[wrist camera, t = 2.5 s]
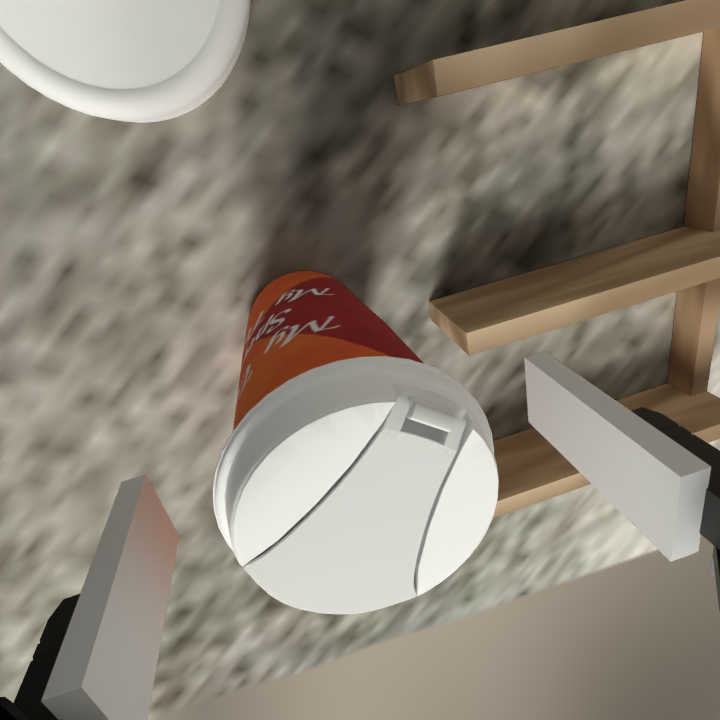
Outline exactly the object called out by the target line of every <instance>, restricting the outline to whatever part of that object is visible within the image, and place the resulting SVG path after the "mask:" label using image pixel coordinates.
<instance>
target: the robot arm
mask: <svg viewBox="0 0 720 720" xmlns="http://www.w3.org/2000/svg"><path fill="white" fill-rule="evenodd" d="M524 361H525V376H526V391H527V406H528V422H529V423H530V424H531V425H532V426H533V427H534V428H535V429H536V430H537V431H538V432H539V433H540V434H541V435H542V436H543V437H544V438H545V439H546V440H547V441H549V442H550V443H551V444H552V445H553V446H554V447H555V448H556V449H557V450H558V451H559V452H560V453H561V454H562V455H563V456H564V457H565V458H566V459H567V460H568V461H569V462H570V463H571V464H572V465H573V466H574V467H575V468H576V469H577V470H578V471H579V472H580V473H581V474H582V475H583V476H584V477H585V478H586V479H587V480H588V481H589V482H590V483H591V484H592V485H593V486H594V487H595V488H596V489H597V490H598V491H599V492H600V493H601V494H602V495H603V496H604V497H605V498H607V499H608V500H609V501H610V502H611V503H612V504H613V505H614V506H615V507H616V508H617V509H618V510H619V511H620V512H621V513H622V514H623V515H624V516H625V517H626V518H627V519H628V520H629V521H630V522H631V523H632V524H633V525H634V526H635V527H636V528H637V529H638V530H639V531H640V532H641V533H642V534H643V535H644V536H645V537H646V538H647V539H648V540H649V541H650V542H651V543H652V544H653V545H654V546H655V547H656V548H657V549H658V550H659V551H660V552H661V553H662V554H663V555H665V556H666V557H667V558H668V559H669V560H670V561H674V560H677V559H679V558H682V557H685V556H688V555H690V554H693V553H696V552H698V549H699V543H700V536H701V535H703V536H704V537H705V538H706V539H707V540H708V541H710V542H711V543H712V544H713V545H714V550H713V556H712V562H711V567H710V573H709V576H711V577H716V585H717V593H718V601H719V609H720V451H719V450H718V449H716V448H714V447H713V446H711V445H710V444H708V443H707V442H705V441H704V440H702V439H701V438H699V437H697V436H696V435H694V434H693V435H692V434H691V432H690V431H688V430H687V429H685V428H684V427H682V426H678V424H677V423H676V422H674V421H673V420H671V419H670V418H668V417H667V416H665V415H663V414H662V413H659V412H656V411H653V410H650V409H647V408H644V407H641V408H638V409H635V410H632V411H630V410H629V409H627V408H626V407H624V406H623V405H622V404H620V403H619V402H617V401H616V400H614V399H613V398H611V397H610V396H609V395H607V394H606V393H604V392H603V391H601V390H600V389H598V388H597V387H596V386H594V385H593V384H591V383H590V382H588V381H587V380H585V379H584V378H583V377H581V376H580V375H578V374H577V373H575V372H574V371H573V370H571V369H570V368H568V367H567V366H565V365H564V364H562V363H561V362H560V361H558V360H557V359H555V358H554V357H552V356H551V355H549V354H548V353H547V352H545V351H543V352H540V353H537V354H533V355H530V356H527V357H524ZM178 538H179V535H178V533H177V531H176V529H175V527H174V525H173V524H172V522H171V520H170V518H169V516H168V514H167V513H166V511H165V509H164V507H163V505H162V503H161V502H160V500H159V498H158V496H157V494H156V493H155V491H154V489H153V487H152V485H151V483H150V482H149V480H148V478H147V476H146V475H143V476H140V477H136V478H133V479H130V480H127V481H123V482H121V485H120V488H119V490H118V493H117V496H116V499H115V501H114V504H113V507H112V510H111V512H110V515H109V518H108V520H107V523H106V526H105V529H104V531H103V534H102V537H101V539H100V542H99V545H98V548H97V550H96V553H95V556H94V558H93V561H92V564H91V567H90V569H89V572H88V575H87V578H86V580H85V583H84V586H83V588H82V591H81V594H78V595H75V596H72V597H69V598H66V599H64V600H63V601H62V602H61V603H60V605H59V606H58V607H57V609H56V610H55V611H54V613H53V614H52V615H51V617H50V618H49V619H48V621H47V624H46V626H45V629H44V631H43V634H42V636H41V638H40V644H38V646H37V648H36V650H35V653H34V655H33V661H31V662H30V665H29V667H28V670H27V672H26V674H25V677H24V679H23V682H22V684H21V686H20V689H19V691H18V694H17V696H16V698H15V701H14V703H12V702H11V701H10V700H8V699H7V698H6V697H0V720H148V714H149V708H150V702H151V696H152V690H153V684H154V679H155V673H156V667H157V661H158V655H159V649H160V643H161V638H162V632H163V626H164V620H165V614H166V608H167V603H168V597H169V591H170V585H171V579H172V573H173V567H174V562H175V556H176V550H177V544H178Z"/></svg>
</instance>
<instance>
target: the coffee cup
mask: <svg viewBox="0 0 720 720" xmlns="http://www.w3.org/2000/svg"><path fill="white" fill-rule="evenodd" d="M498 484H499V478H498V471H497V463H496V460H495V457H494V446H493V438H492V432H491V429H490V426H489V423H488V420H487V417H486V415H485V414H484V412H483V410H482V408H481V407H480V405H479V403H478V401H477V400H476V399H475V398H474V397H473V396H472V395H471V394H470V392H469V391H468V390H467V389H466V388H465V387H464V386H463V385H462V384H460V383H459V382H458V381H456V380H455V379H454V378H452V377H451V376H450V375H448V374H446V373H444V372H442V371H440V370H438V369H436V368H434V367H432V366H430V365H427V364H424V363H423V362H422V361H421V360H420V359H419V358H418V357H417V356H416V355H415V354H414V353H413V352H412V351H411V350H410V348H409V347H408V346H407V345H406V344H405V343H404V342H403V341H402V340H401V339H400V338H399V337H398V336H397V335H396V334H395V333H394V332H393V330H392V329H391V328H390V327H389V326H388V325H387V324H386V323H385V322H384V321H383V320H382V319H380V318H379V317H378V316H377V315H376V314H375V313H374V312H373V311H371V310H370V309H369V308H368V307H367V306H366V305H365V304H364V303H363V302H361V301H360V300H359V299H358V298H357V297H356V296H355V295H354V294H353V293H352V292H351V291H350V290H349V289H347V288H346V287H345V286H344V285H343V284H341V283H340V282H339V281H337V280H336V279H334V278H332V277H330V276H328V275H325V274H322V273H319V272H314V271H297V272H292V273H288V274H285V275H283V276H280V277H278V278H277V279H275V280H273V281H272V282H271V283H269V284H268V285H267V286H266V287H265V288H264V289H263V290H262V291H261V292H260V294H259V295H258V297H257V298H256V300H255V302H254V304H253V306H252V309H251V312H250V315H249V320H248V325H247V330H246V337H245V344H244V351H243V358H242V365H241V373H240V381H239V389H238V396H237V404H236V412H235V420H234V428H233V432H232V434H231V436H230V438H229V439H228V441H227V443H226V445H225V446H224V448H223V450H222V453H221V456H220V459H219V462H218V465H217V468H216V472H215V479H214V486H213V502H214V512H215V515H216V519H217V523H218V526H219V529H220V531H221V533H222V535H223V536H224V538H225V540H226V542H227V544H228V545H229V546H230V548H231V549H232V550H233V551H234V554H235V556H236V558H237V560H238V562H239V564H240V565H242V566H244V569H245V570H246V572H247V573H248V574H249V575H250V576H251V577H252V578H253V579H254V580H255V581H256V583H257V584H258V585H260V586H261V587H262V588H263V589H264V590H265V591H266V592H267V593H268V594H269V595H270V596H272V597H274V598H275V599H277V600H279V601H281V602H282V603H284V604H286V605H289V606H292V607H295V608H298V609H301V610H306V611H312V612H317V613H327V614H357V613H363V612H369V611H374V610H377V609H381V608H384V607H388V606H391V605H394V604H397V603H400V602H403V601H406V600H408V599H411V598H414V597H416V595H417V596H419V595H421V594H423V593H425V592H426V591H428V590H430V589H431V588H433V587H434V586H436V585H437V584H439V583H441V582H442V581H443V580H444V579H446V578H447V577H448V576H449V575H451V574H452V573H453V572H454V571H456V570H457V569H458V568H459V567H460V566H461V565H462V564H463V563H464V562H465V561H466V560H467V559H468V557H469V556H470V555H471V554H472V552H473V551H474V550H475V549H476V547H477V546H478V545H479V543H480V541H481V540H482V538H483V536H484V535H485V533H486V531H487V530H488V527H489V525H490V522H491V520H492V518H493V515H494V512H495V508H496V503H497V499H498Z"/></svg>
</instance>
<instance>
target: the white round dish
mask: <svg viewBox="0 0 720 720" xmlns="http://www.w3.org/2000/svg"><path fill="white" fill-rule="evenodd" d="M250 2H251V0H0V63H1V64H3V65H4V66H5V67H6V68H7V69H8V70H9V71H10V72H12V73H13V74H14V75H15V76H17V77H18V78H19V79H21V80H22V81H23V82H25V83H26V84H27V85H29V86H30V87H32V88H33V89H35V90H37V91H38V92H40V93H42V94H43V95H45V96H46V97H48V98H50V99H52V100H54V101H56V102H58V103H60V104H62V105H64V106H67V107H69V108H71V109H74V110H77V111H80V112H83V113H86V114H88V115H92V116H97V117H102V118H107V119H113V120H120V121H127V122H140V123H142V122H158V121H163V120H167V119H172V118H175V117H178V116H180V115H183V114H185V113H188V112H189V111H191V110H193V109H195V108H196V107H198V106H200V105H201V104H203V103H204V102H205V101H206V100H208V99H209V98H210V97H211V96H212V95H213V94H214V93H215V92H216V91H217V90H218V89H219V88H220V87H221V86H222V85H223V83H224V82H225V80H226V79H227V77H228V76H229V74H230V73H231V71H232V69H233V67H234V65H235V63H236V61H237V59H238V57H239V55H240V52H241V49H242V46H243V44H244V40H245V36H246V32H247V28H248V22H249V13H250Z"/></svg>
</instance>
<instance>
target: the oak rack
mask: <svg viewBox="0 0 720 720" xmlns="http://www.w3.org/2000/svg"><path fill="white" fill-rule="evenodd" d="M700 32H704V34H703V44H702V54H701V64H700V73H699V83H698V93H697V102H696V112H695V122H694V131H693V141H692V151H691V161H690V170H689V180H688V190H687V199H686V209H685V219H684V227H680V228H677V229H674V230H670V231H667V232H663V233H660V234H656V235H653V236H650V237H646V238H643V239H639V240H636V241H633V242H629V243H626V244H622V245H619V246H616V247H612V248H609V249H605V250H602V251H599V252H595V253H592V254H588V255H585V256H582V257H578V258H575V259H571V260H568V261H565V262H561V263H558V264H554V265H551V266H548V267H544V268H541V269H537V270H534V271H531V272H527V273H524V274H520V275H517V276H514V277H510V278H507V279H503V280H500V281H496V282H493V283H490V284H486V285H483V286H479V287H476V288H473V289H469V290H466V291H462V292H459V293H456V294H452V295H449V296H445V297H442V298H439V299H435V300H432V301H429V305H430V311H431V318H432V321H433V322H434V323H435V324H436V325H437V326H438V327H439V328H440V329H441V330H443V331H444V332H445V333H446V334H447V335H448V336H449V337H450V338H451V339H452V340H453V341H454V342H455V343H456V344H457V345H458V346H459V347H461V348H462V349H463V350H464V351H465V352H466V353H467V354H468V355H472V354H475V353H479V352H482V351H485V350H488V349H492V348H495V347H498V346H501V345H504V344H508V343H511V342H514V341H517V340H521V339H524V338H527V337H530V336H533V335H537V334H540V333H543V332H546V331H550V330H553V329H556V328H559V327H563V326H566V325H569V324H572V323H575V322H579V321H582V320H585V319H588V318H592V317H595V316H598V315H601V314H605V313H608V312H611V311H614V310H617V309H621V308H624V307H627V306H630V305H634V304H637V303H640V302H643V301H646V300H650V299H653V298H656V297H659V296H663V295H666V294H669V293H672V292H676V291H677V296H676V306H675V316H674V325H673V335H672V345H671V354H670V364H669V374H668V383H666V384H663V385H660V386H657V387H654V388H651V389H648V390H645V391H642V392H639V393H636V394H633V395H630V396H627V397H624V398H621V399H618V400H616V401H617V402H619V403H620V404H622V405H623V406H624V407H626V408H627V409H629V410H630V411H632V410H635V409H638V408H641V407H644V408H647V409H650V410H653V411H656V412H659V413H662V414H663V415H665V416H667V417H668V418H670V419H671V420H673V421H674V422H676V423H677V424H678V426H682V427H684V428H685V429H687V430H688V431H690V432H691V434H692V435H693V434H694V435H696V436H697V437H699V438H701V439H702V440H704V441H705V442H707V443H709V442H711V441H714V440H717V439H720V398H718V397H717V396H715V395H713V394H711V393H709V392H707V387H708V380H709V373H710V367H711V360H712V353H713V346H714V340H715V333H716V326H717V320H718V313H719V306H720V0H685V1H680V2H676V3H672V4H668V5H663V6H659V7H655V8H651V9H646V10H642V11H638V12H634V13H630V14H625V15H621V16H617V17H613V18H608V19H604V20H600V21H596V22H591V23H587V24H583V25H579V26H574V27H570V28H566V29H562V30H557V31H553V32H549V33H545V34H540V35H536V36H532V37H528V38H524V39H519V40H515V41H511V42H507V43H502V44H498V45H494V46H490V47H485V48H481V49H477V50H473V51H468V52H464V53H460V54H456V55H451V56H447V57H443V58H439V59H434V60H431V61H429V62H427V63H424V64H422V65H419V66H417V67H414V68H412V69H409V70H407V71H405V72H402V73H400V74H397V75H395V76H394V81H395V87H396V93H397V100H398V105H401V104H406V103H410V102H415V101H420V100H424V99H429V98H434V97H438V96H442V95H446V94H451V93H455V92H459V91H463V90H467V89H471V88H475V87H479V86H483V85H487V84H491V83H495V82H500V81H504V80H508V79H512V78H516V77H520V76H524V75H528V74H532V73H536V72H540V71H544V70H549V69H553V68H557V67H561V66H565V65H569V64H573V63H577V62H581V61H585V60H589V59H593V58H597V57H602V56H606V55H610V54H614V53H618V52H622V51H626V50H630V49H634V48H638V47H642V46H646V45H651V44H655V43H659V42H663V41H667V40H671V39H675V38H679V37H683V36H687V35H691V34H695V33H700ZM493 446H494V457H495V460H496V463H497V471H498V478H499V484H498V499H497V503H496V508H495V512H494V515H493V518H495V517H498V516H501V515H504V514H506V513H509V512H512V511H515V510H518V509H521V508H524V507H526V506H529V505H532V504H535V503H538V502H541V501H543V500H546V499H549V498H552V497H555V496H558V495H561V494H563V493H566V492H569V491H572V490H575V489H578V488H580V487H583V486H586V485H589V484H591V483H590V482H589V481H588V480H587V479H586V478H585V477H584V476H583V475H582V474H581V473H580V472H579V471H578V470H577V469H576V468H575V467H574V466H573V465H572V464H571V463H570V462H569V461H568V460H567V459H566V458H565V457H564V456H563V455H562V454H561V453H560V452H559V451H558V450H557V449H556V448H555V447H554V446H553V445H552V444H551V443H550V442H549V441H547V440H546V439H545V438H544V437H543V436H542V435H541V434H540V433H539V432H538V431H537V430H536V429H535V428H531V429H528V430H525V431H522V432H519V433H516V434H513V435H510V436H507V437H503V438H500V439H497V440H494V441H493Z"/></svg>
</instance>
